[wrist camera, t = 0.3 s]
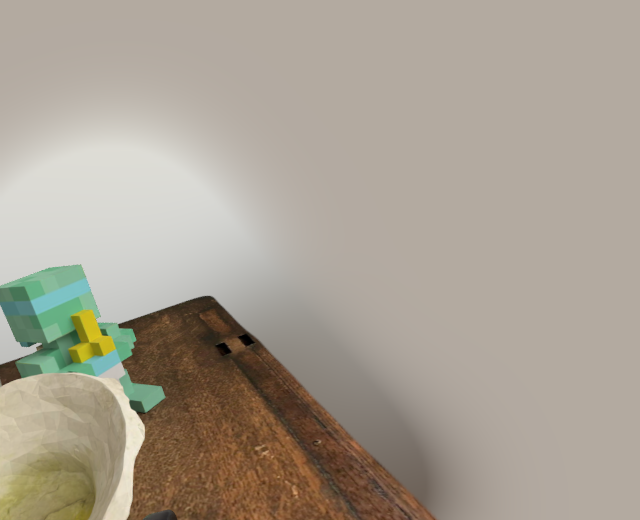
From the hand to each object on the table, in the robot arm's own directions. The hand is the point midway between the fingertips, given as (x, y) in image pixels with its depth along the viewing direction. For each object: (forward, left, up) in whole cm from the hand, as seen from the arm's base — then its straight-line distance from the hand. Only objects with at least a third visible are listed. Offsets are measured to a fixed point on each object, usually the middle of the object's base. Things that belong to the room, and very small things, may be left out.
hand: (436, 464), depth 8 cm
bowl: (+17, +21, -16) cm, 31 cm away
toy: (+33, +25, -16) cm, 44 cm away
